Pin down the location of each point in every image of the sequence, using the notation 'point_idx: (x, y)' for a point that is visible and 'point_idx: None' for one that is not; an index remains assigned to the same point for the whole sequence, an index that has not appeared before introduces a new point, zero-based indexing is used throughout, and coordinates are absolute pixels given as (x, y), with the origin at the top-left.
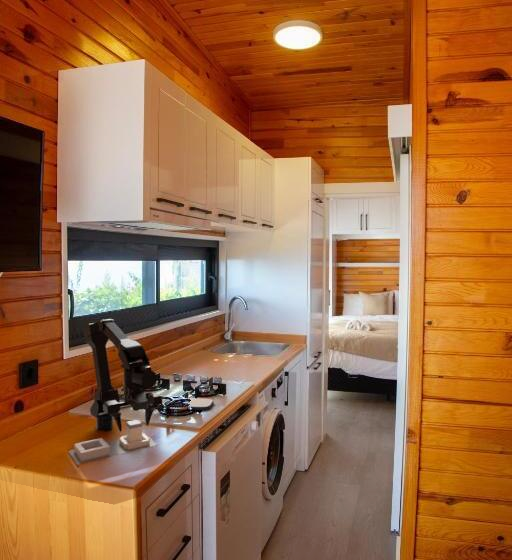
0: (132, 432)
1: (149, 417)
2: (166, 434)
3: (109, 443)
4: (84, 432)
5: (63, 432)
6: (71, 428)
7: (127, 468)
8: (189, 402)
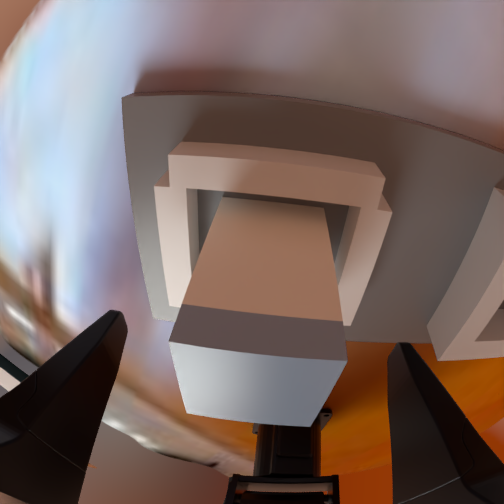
0: (313, 283)
1: (57, 368)
2: (54, 257)
3: (389, 323)
4: (351, 428)
5: (388, 440)
6: (356, 448)
7: None
8: (6, 381)
